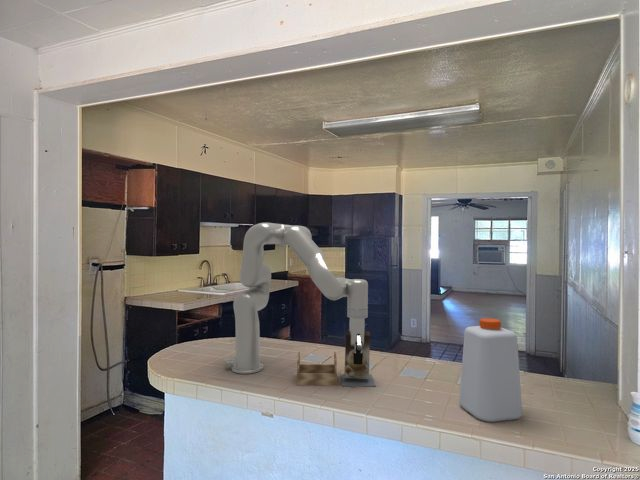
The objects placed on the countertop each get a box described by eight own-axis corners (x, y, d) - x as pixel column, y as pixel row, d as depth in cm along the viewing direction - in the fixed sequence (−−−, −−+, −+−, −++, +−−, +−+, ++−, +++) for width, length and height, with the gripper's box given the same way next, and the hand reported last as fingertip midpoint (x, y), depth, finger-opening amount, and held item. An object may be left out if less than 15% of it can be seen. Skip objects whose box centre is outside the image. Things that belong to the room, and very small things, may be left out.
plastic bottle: (528, 420, 117) (529, 324, 117) (482, 424, 114) (483, 326, 114) (495, 399, 132) (496, 314, 132) (453, 403, 129) (454, 316, 129)
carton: (297, 385, 144) (297, 360, 144) (298, 374, 156) (298, 351, 156) (336, 385, 145) (336, 360, 144) (335, 374, 156) (335, 351, 156)
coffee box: (344, 378, 146) (344, 334, 146) (344, 372, 153) (345, 330, 153) (369, 379, 146) (370, 335, 146) (369, 373, 152) (369, 331, 152)
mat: (342, 386, 143) (342, 385, 143) (340, 375, 155) (340, 374, 155) (375, 386, 143) (375, 385, 143) (371, 375, 155) (371, 374, 155)
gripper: (345, 308, 158) (345, 354, 158) (349, 317, 140) (348, 368, 140) (364, 308, 158) (364, 354, 158) (370, 317, 140) (370, 368, 141)
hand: (356, 360), depth 149 cm, fingers closed on coffee box, 6 cm apart
